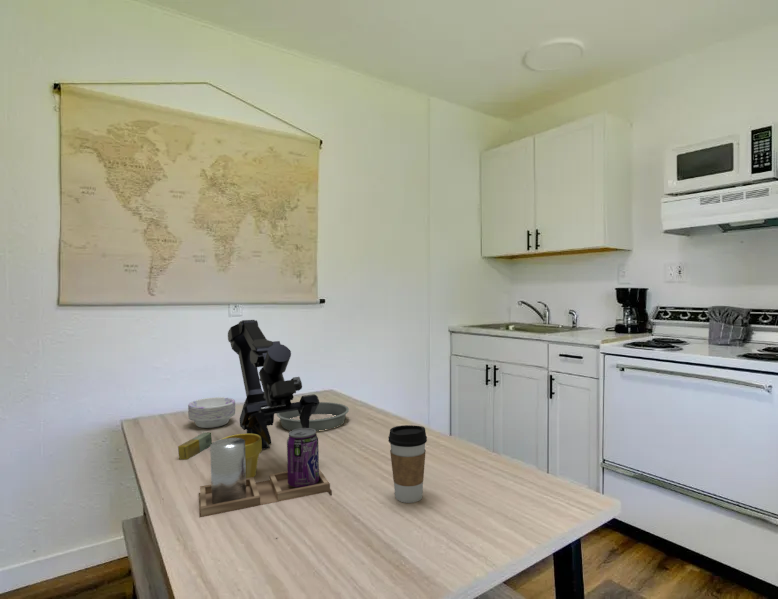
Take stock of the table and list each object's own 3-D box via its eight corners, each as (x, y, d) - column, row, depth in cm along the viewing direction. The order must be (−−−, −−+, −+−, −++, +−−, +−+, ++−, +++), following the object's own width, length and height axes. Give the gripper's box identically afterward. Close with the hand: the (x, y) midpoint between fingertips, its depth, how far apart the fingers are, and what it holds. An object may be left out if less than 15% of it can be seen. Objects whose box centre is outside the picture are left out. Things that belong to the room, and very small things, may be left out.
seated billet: (211, 495, 99) (209, 440, 99) (244, 489, 102) (243, 436, 101) (212, 509, 92) (210, 450, 92) (248, 502, 95) (246, 445, 95)
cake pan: (362, 418, 160) (362, 406, 160) (318, 438, 139) (317, 424, 139) (309, 410, 173) (309, 398, 173) (261, 427, 152) (260, 414, 152)
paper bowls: (245, 421, 159) (244, 399, 158) (207, 433, 146) (206, 409, 146) (217, 416, 167) (216, 394, 167) (179, 427, 154) (178, 403, 154)
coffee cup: (416, 509, 93) (415, 436, 92) (382, 499, 97) (380, 430, 97) (434, 493, 100) (433, 425, 100) (401, 485, 104) (400, 420, 104)
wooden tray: (198, 497, 100) (198, 486, 100) (318, 475, 111) (317, 465, 111) (199, 522, 89) (199, 509, 89) (331, 495, 100) (331, 484, 100)
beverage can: (303, 493, 99) (302, 439, 98) (281, 486, 103) (279, 433, 103) (325, 481, 105) (324, 430, 104) (303, 475, 109) (302, 425, 108)
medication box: (204, 445, 135) (203, 432, 135) (212, 445, 135) (212, 432, 135) (178, 460, 124) (177, 445, 124) (187, 460, 123) (186, 446, 123)
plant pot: (209, 481, 109) (208, 441, 108) (247, 468, 116) (246, 430, 116) (232, 493, 102) (231, 450, 102) (271, 478, 110) (270, 438, 110)
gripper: (242, 371, 107) (256, 429, 98) (316, 363, 117) (334, 415, 108) (235, 397, 114) (247, 454, 105) (305, 387, 124) (322, 439, 115)
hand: (289, 440), depth 108 cm, fingers open, 9 cm apart
